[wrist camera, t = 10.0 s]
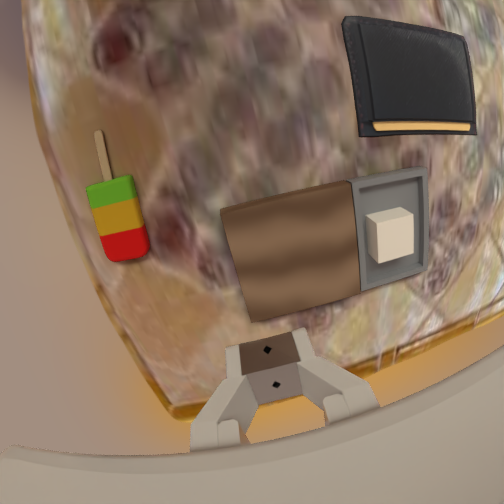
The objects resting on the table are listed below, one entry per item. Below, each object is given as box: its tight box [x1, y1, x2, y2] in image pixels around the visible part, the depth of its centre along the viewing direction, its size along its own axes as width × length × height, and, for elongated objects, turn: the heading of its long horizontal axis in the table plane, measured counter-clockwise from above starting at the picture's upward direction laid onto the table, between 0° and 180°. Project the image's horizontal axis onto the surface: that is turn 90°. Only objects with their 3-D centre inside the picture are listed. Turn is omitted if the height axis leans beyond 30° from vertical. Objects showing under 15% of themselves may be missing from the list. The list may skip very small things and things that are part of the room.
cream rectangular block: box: [365, 207, 414, 264], centre depth 34 cm, size 5×5×3 cm
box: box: [346, 166, 429, 291], centre depth 35 cm, size 14×10×2 cm
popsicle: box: [86, 130, 150, 262], centre depth 30 cm, size 6×15×2 cm, turn 9°
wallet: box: [341, 16, 477, 137], centre depth 28 cm, size 20×2×15 cm
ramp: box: [220, 180, 360, 323], centre depth 35 cm, size 14×14×2 cm
